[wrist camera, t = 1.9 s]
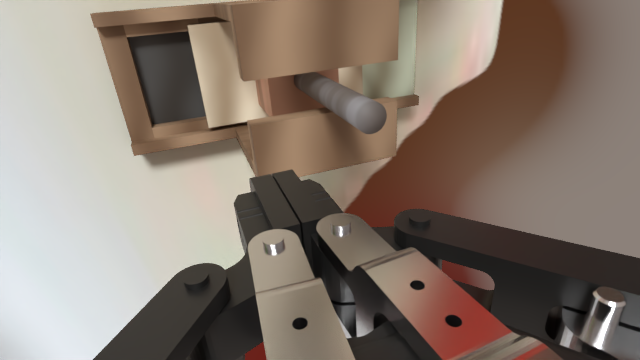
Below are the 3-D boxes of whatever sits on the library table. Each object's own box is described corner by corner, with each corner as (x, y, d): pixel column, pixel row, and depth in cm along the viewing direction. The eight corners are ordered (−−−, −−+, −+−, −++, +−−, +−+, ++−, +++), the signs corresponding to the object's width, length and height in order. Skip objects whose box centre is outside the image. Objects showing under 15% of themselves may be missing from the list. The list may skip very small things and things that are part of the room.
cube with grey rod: (207, 125, 37) (238, 223, 21) (187, 25, 33) (204, 48, 17) (359, 99, 41) (483, 164, 25) (356, 8, 37) (503, 14, 21)
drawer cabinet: (136, 146, 37) (120, 215, 25) (95, 12, 32) (51, 20, 20) (406, 99, 45) (491, 135, 34) (410, -14, 40) (512, -19, 28)
